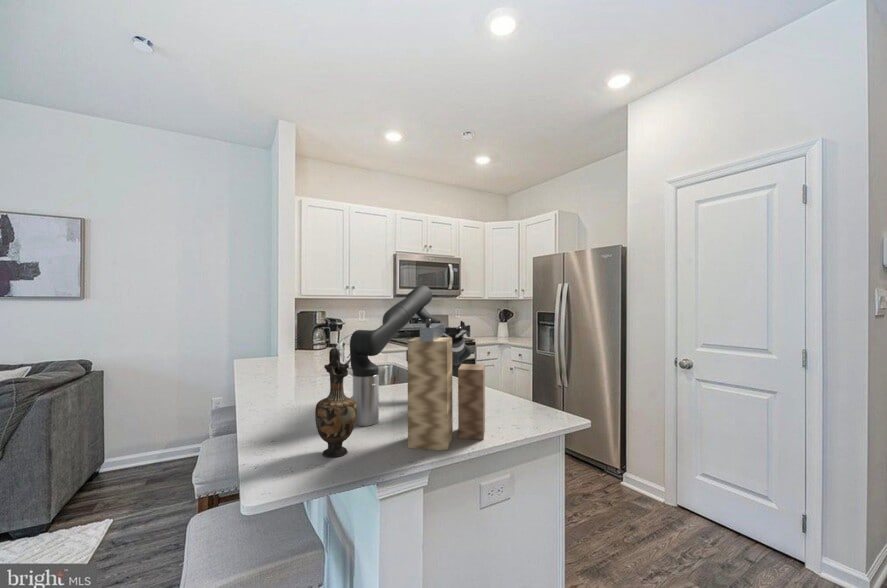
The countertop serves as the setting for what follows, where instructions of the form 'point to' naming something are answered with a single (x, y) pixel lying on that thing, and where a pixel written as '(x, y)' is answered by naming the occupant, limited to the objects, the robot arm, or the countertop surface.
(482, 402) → the walnut block
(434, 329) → the tin
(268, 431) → the countertop surface
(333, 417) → the vase
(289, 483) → the countertop surface
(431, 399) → the oak block
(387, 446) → the countertop surface
